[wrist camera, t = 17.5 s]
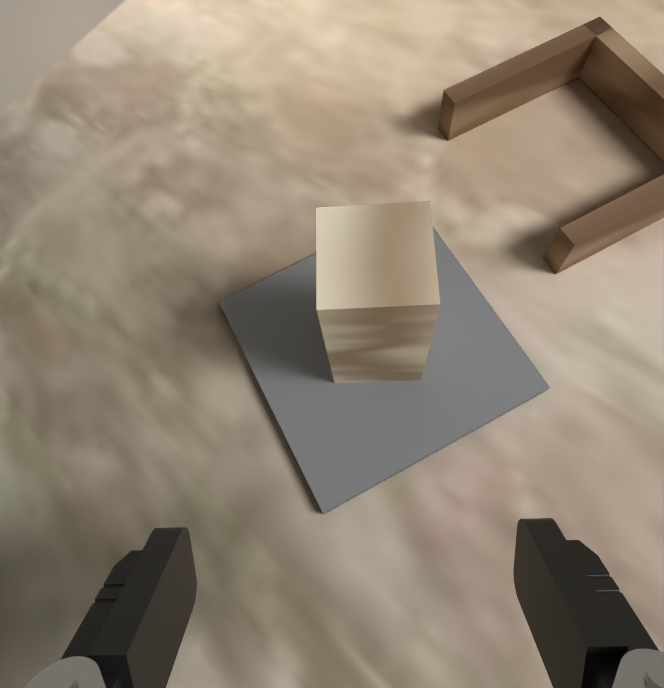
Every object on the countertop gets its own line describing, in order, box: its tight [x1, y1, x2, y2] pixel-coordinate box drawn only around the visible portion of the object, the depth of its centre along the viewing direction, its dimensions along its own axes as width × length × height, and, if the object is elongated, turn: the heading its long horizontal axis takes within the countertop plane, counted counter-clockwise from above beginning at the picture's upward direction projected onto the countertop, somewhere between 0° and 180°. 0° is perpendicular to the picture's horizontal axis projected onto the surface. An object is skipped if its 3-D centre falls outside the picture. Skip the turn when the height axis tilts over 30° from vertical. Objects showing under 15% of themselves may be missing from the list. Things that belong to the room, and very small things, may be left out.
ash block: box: [316, 201, 440, 383], centre depth 24 cm, size 4×4×9 cm
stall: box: [438, 17, 664, 274], centre depth 31 cm, size 12×11×3 cm
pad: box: [219, 227, 550, 514], centre depth 29 cm, size 13×13×1 cm
